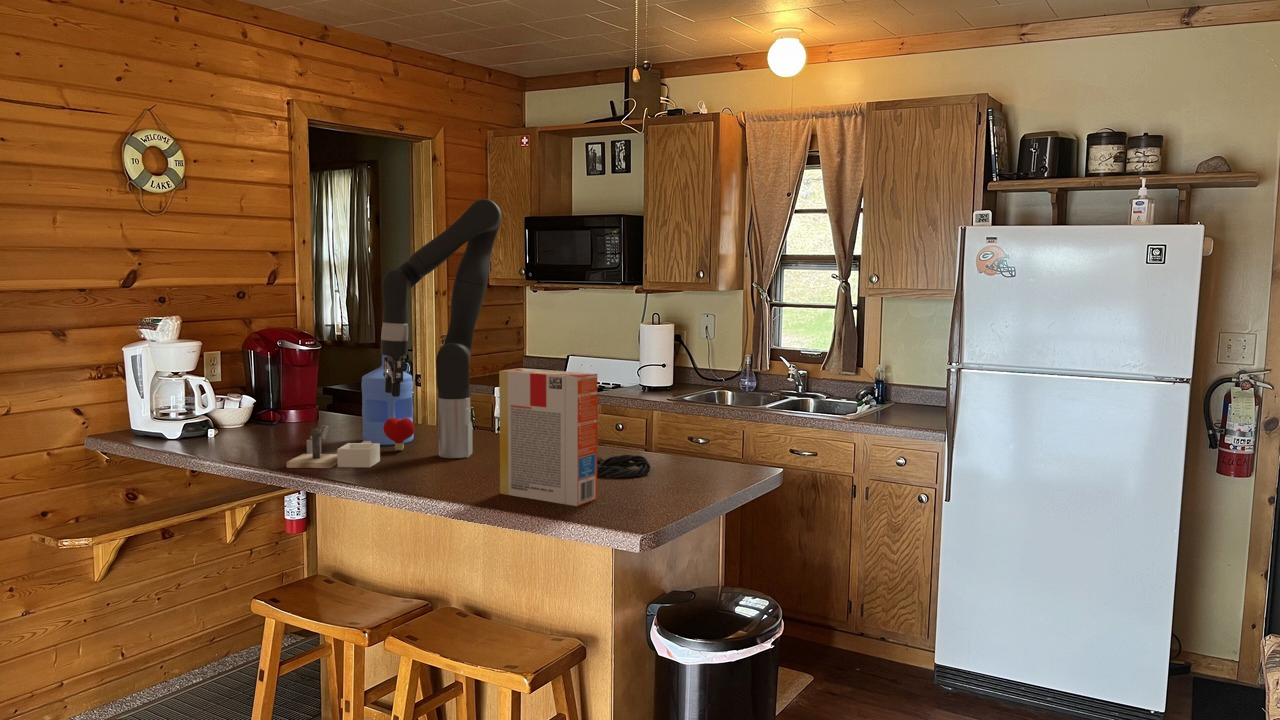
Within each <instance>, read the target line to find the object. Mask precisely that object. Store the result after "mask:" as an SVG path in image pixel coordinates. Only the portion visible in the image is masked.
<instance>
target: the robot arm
mask: <svg viewBox="0 0 1280 720" xmlns="http://www.w3.org/2000/svg"><path fill="white" fill-rule="evenodd" d="M502 220H503V214H502V210H501V208H500V207H499V206H498V204H496V202H494V201H493V200H491V199H487V198H480V199H477V200H475V201H474V202H473V203H471V205H470V206H469V207H468V208H467V209H466V210H465V212H464V213H463V214H462V215H461V216H460V217H459V218H458V219H457V220H455V222H454V223H452V224H451V225H450V226H449V227H447V228H446V229H445V230H444V231H443V232H441V233H440V234H438V235H437V236H435V237H434V238H433V239H431V240H430V241H428V242H426V244H425V245H423V246H421V248H419V249H417V250H416V251H415V252H414V253H412V254H411V255H410V257H409V258H408V260H407V261H405V262H404V263H402V264H401V265H400V266H399V267H397V268H393V269H389V270H388V271H387V272H386V273H384V275H383V278H382V284H381V287H382V299H383V301H382V302H383V311H382V326H381V332H380V333H381V335H380V338H381V339H380V355H381V356H382V355H387V356H388V357H384V373H383V376H384V378H385V392H386V393H392V396H393V397H399V396H400V383H401V382H403V372H404V363H405V362H404V361H403V360H401V357H404V356H407V355H408V351H409V306H408V304H407V295H408V294H407V293H408V291H410V290H411V289H412V288H413V287H414V286H416V284H418V283H419V282H420V281H421V280H422V279H423V278H424V277H426V276H427V275H429V274H431V272H433V271H435V269H437V268H438V267H440V266H441V265H442V264H443V263H444V262H446V261H447V260H448V259H449V258H450V257H451V256H452V255H453V254H455V252H456V251H458V250H459V249H460V248H461V247H463V245H465V244H466V247H465V250H464V252H463V255H462V257H461V260H460V262H459V265H458V267H457V270H456V275H455V278H454V281H453V286H452V291H451V298H450V315H449V317H450V318H449V324H448V325H449V326H448V330H447V333H446V337H445V339H444V342H443V344H442V346H441V347H440V348H439V350H438V351H437V354H436V359H435V361H436V362H435V363H436V364H435V365H436V366H435V367H436V389H437V406H438V407H437V410H438V411H437V412H438V413H437V415H438V416H437V417H438V420H437V422H438V423H437V424H438V426H437V427H438V429H437V430H438V457H440V458H443V459H444V458H445V459H462V458H470V456H471V455H473V422H472V421H471V385H470V364H471V361H472V360H471V359H472V358H471V357H472V346H473V339H474V332H475V328H476V325H477V321H478V319H479V315H480V313H481V310H482V306H483V302H484V298H485V294H486V291H487V284H488V281H489V274H490V267H491V257H492V252H493V247H494V244H495V241H496V237H497V234H498V231H499V229H500V226H501V223H502ZM396 377H398V378H396Z"/></svg>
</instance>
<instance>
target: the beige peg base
mask: <svg viewBox="0 0 1280 720" xmlns="http://www.w3.org/2000/svg"><path fill="white" fill-rule="evenodd" d="M309 434H310V436H312V454H307V453H302V454H300V455H298V456H295V457H294V458H292V459H290V460H287V462H286V468H289V469H293V468H295V469H301V468H302V469H331V468H333V467H335V466H336V465H338V462H337V453H320V435H321V431H320V429H319V428H312V429H311V430H310V433H309Z"/></svg>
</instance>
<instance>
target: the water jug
mask: <svg viewBox="0 0 1280 720" xmlns="http://www.w3.org/2000/svg"><path fill="white" fill-rule="evenodd" d="M384 357H388V356H387V355H382V354H381V365H380V367H378V368H376V369H374V370H372V371H370V372H368V373H366V374H364V375H363V376H362V377H361V395H362V396H361V397H362V398H361V399H362V400H361V403H362V405H361V407H362V408H361V415H362V442H364V441H371V443H380V446H395V442H394V441H393V440H391V439H390V438H388V437H387V436H386V435H385V433H384V424H385V422H386V421H387V420H388V419H390V418H397V419H399V420H401V419H404V418H408V419H410V420H411V421H412V422H413V423H414V406H413V405H414V403H413V389H414V384H413V375H411V374H410V373H407V372H406V371H403V382H401V383H400V396H399V397H393V396H392V393H386V392H385V378H384V376H383V373H384ZM396 378H398V377H396ZM414 434H415V432H414V433H413V435H412V436H411V437H410V438H408V439H406V440H404V441H403V442H404V444H408V443H411V442H412V441H413V440H414V438H415V437H414V436H415V435H414Z"/></svg>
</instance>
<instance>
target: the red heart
mask: <svg viewBox="0 0 1280 720" xmlns="http://www.w3.org/2000/svg"><path fill="white" fill-rule="evenodd" d="M415 427H416V426H415V424H414V421H413V422H412V421H411V420H410V419H408V418H404V419H401V420H399V419H397V418H390V419H388V420H387V421H386V422H385V424H384V433H385V435H386V436H387V437H388V438H390V439H391V440H393V441H394V442H395V445H394V449H395V450H396V451H397V452H402V451H403V449H405V443H404V442H403V441H404V440H406V439H408V438H410V437H411V436H412V435H413V433H414V434H415V429H416V428H415Z"/></svg>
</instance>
